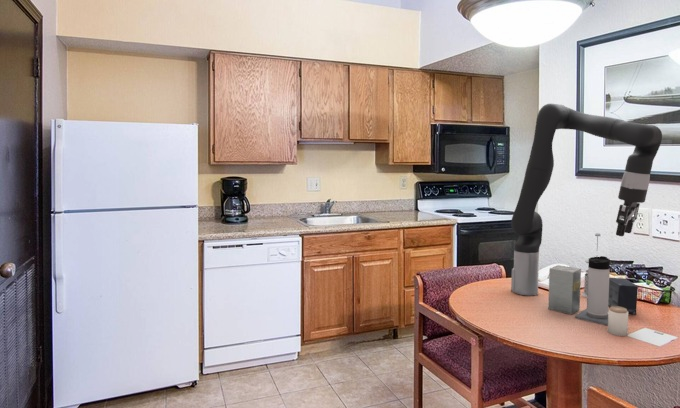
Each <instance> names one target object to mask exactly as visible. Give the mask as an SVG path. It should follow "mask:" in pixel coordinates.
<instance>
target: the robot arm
mask: <svg viewBox="0 0 680 408" xmlns="http://www.w3.org/2000/svg"><path fill="white" fill-rule="evenodd" d="M556 130H572V131H573V130H575V131H580V132H583V133H587V134H590V135H591V136H595V137H599V138H603V139H606V140H612V141H617V142H620V143H625V144H627V145H631V146H634V150H633V152H632V154H630V155H628V156H627V159H626V163H625V168H624V172H623V176H622V178H621V183H620V187H619V191H618V196H617V198H618V199H619V200H620V201H623V204H620V205H619V208H618V212H617V217H616V220H615V223H617V227H616V232H615V235H616V236H618V237H623V236H624V237H625V233H626V234H631V233H632V231H633V226H634V223H635V222H636V221H637V219H638V213H639V209H640V206H641V204H643V203H646V199H647V193H648V190H649V185H650V180H651V179H650V178H651V177H650V176H651V172H652V168H653V162H654V160H655V158H656V155H657V153H658V151H659V149H660V147H661V144H662V139H663V133H662V130H661V129H660V128H659V127H658V126H655V125H651V124H645V123H639V122H638V123H637V122H631V121H627V120H624V119H619V118H613V117H609V116H603V115H596V114H589V113H584V112H582V111H581V112H580V111H578V110H576V109H573V108H570V107H567V106H565V105H563V104H559V103H558V104H557V103H547V104H544V105H543V106H541V108H540V109H539V111H538V113H537V117H536V121H535V129H534V135H533V141H532V146H531V150H530V155H529V158H528V161H527V165H526V169H525V172H524V178H523V182H522V186H521V190H520V194H519V197H518V201H517V203H516V207H515V208H514V211H513V214H512V216H511V222H510V223H511V224H510V225H511V229H512V231H513V232H514V233H515V234H516V235H518V236H519V237H518V239H517V241H516V242H515V243H514V246H513V247H514V249H513V250H514V251H513V268H512V267H511V280H510V281H511V286H510V289H511V292H512V293H515V294H517V295H521V296H527V297H528V296H529V297H530V296H536V295H537V296H538V295H539V270H540V269H539V267H540V266H539V265H540V263H539V261H540V247H541V245H542V240H543V239H542V238H543V219H542V217H541V215H540V213H538V212H537V211H536V208H537V205H538V202H539V201H540V199H541V197H542V195H543V193H544V192H545V191H546V189H547V187H548V186H549V184H550V182H551V178H552V175H553V170H554V165H555V162H554V161H555V159H554V153H553V141H554V138H555V137H554V136H555V134H556Z"/></svg>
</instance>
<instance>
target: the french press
mask: <svg viewBox="0 0 680 408" xmlns="http://www.w3.org/2000/svg"><path fill="white" fill-rule="evenodd" d="M594 236H595V237H596V238H597V239H596V250H599V249H598V247H599V246H598V245H599V237H601V233H600V232H596V233H595V234H594ZM589 258H590V257H589ZM589 258H586V259H585V260H584V261H585V263H586V264H589ZM585 272H586V273H584V285H583V287H584V288H583V289H584V290H583V292H581V293H580V296H583V297H584V298H587V286H588V269H586V270H585Z"/></svg>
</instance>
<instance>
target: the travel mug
mask: <svg viewBox="0 0 680 408" xmlns="http://www.w3.org/2000/svg"><path fill="white" fill-rule="evenodd" d="M610 264H611V260H610V258H608V257H607V256H604V255H603V256H601V255H600V256H592V257H589V263H588V265H587V266H588V268H587V270H588V286H587V297H586V309H587V312H586V314H587V315H588V316H590V317H593V318H598V319H605V318H607V317H608V311H609V307H608V298H609V278H610V269H611V267H610V266H611V265H610Z"/></svg>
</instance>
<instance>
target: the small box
mask: <svg viewBox="0 0 680 408" xmlns="http://www.w3.org/2000/svg"><path fill="white" fill-rule="evenodd" d="M638 288H639V286H638V285H636V284H635V283H634V282H632V281H630V280H629V279H627V278H625V277H624V278H622V277H621V278H620V277H609V298H608V309H610V307H611V306H620V307H624V308H626V309H627V311H628V316H629V315H633V316H637V307H638V303H637V302H638V291H639V289H638Z"/></svg>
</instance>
